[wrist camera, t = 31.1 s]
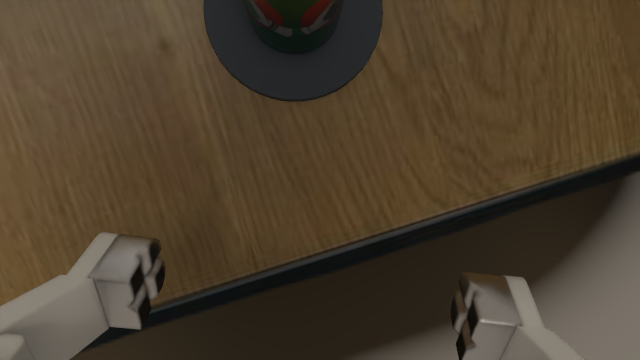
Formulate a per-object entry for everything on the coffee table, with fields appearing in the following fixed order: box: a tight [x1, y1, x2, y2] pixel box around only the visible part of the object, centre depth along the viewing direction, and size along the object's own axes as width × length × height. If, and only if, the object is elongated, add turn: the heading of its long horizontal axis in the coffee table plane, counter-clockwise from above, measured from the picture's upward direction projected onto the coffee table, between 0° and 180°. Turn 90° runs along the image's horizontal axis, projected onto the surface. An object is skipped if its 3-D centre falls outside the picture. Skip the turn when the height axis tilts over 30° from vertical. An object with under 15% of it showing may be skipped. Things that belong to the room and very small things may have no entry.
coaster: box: [204, 0, 383, 101], centre depth 25 cm, size 10×10×1 cm
